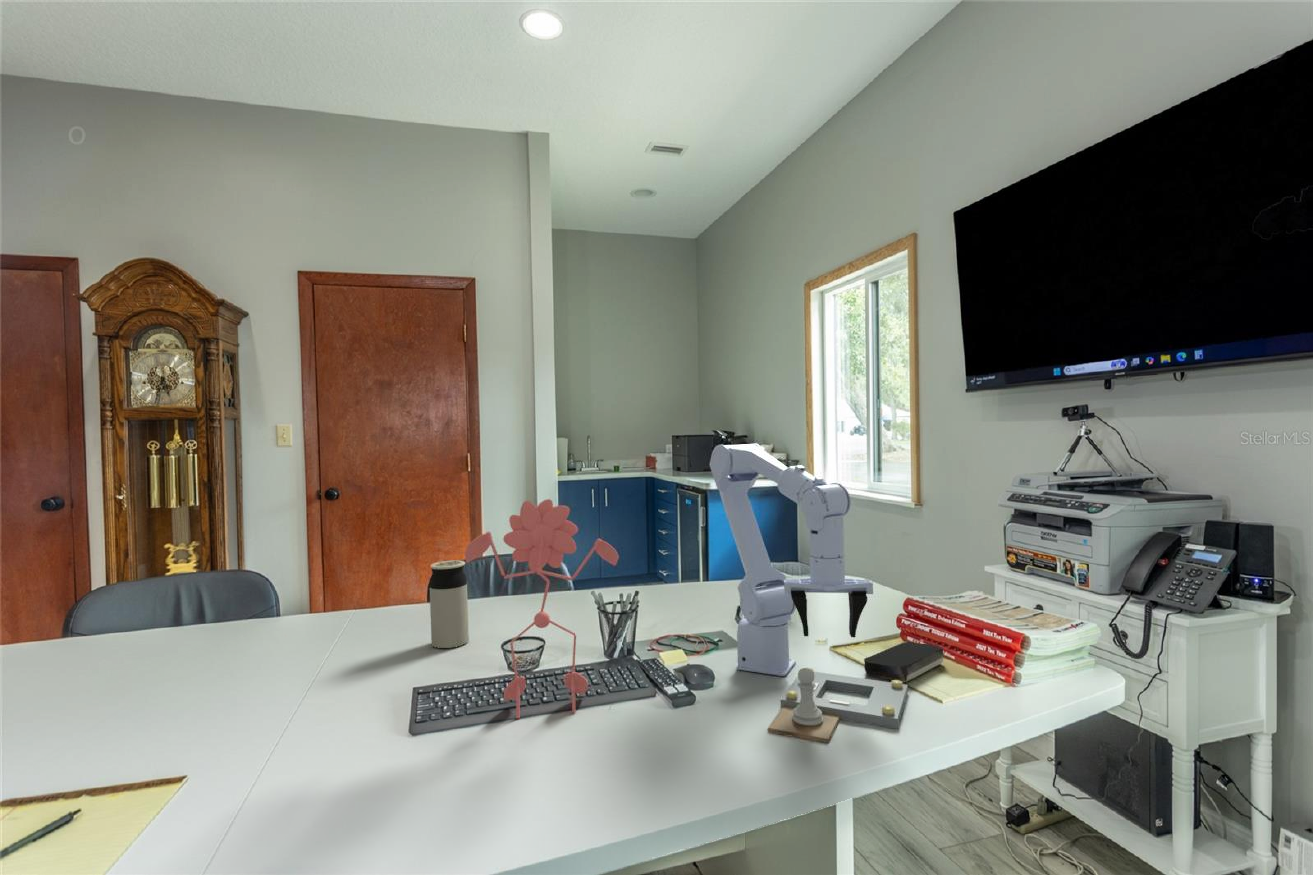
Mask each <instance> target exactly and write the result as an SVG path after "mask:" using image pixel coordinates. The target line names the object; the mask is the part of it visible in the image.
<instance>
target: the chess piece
mask: <svg viewBox="0 0 1313 875" xmlns="http://www.w3.org/2000/svg"><path fill="white" fill-rule="evenodd" d="M809 668H810V667H804V668H803V667H801V669H799V670H798V673H797V676H798V678H799V680H800V682H799V683H798V684H797V686H798V687H799V688H800V692H801V700H800V703H799V705H798V706H797V707H796V708H794V709H793V713H794V714H793V715H792V719H793V720H794V721H795V722H796V723H797V724H799V725H803V726H817V725H819V724H821V723H822V721H823V717H822V716H821V715H822V711H821V710H820V709H818V708H817V706H816V705H815V703H814V701H813V689H814V688H815V687H816V685H815V684H814V683H812V682H813V681H814V678H815V675H814V672H815V671H814V670H813V671H812V670H811V669H809Z"/></svg>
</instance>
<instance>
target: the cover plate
mask: <svg viewBox="0 0 1313 875" xmlns="http://www.w3.org/2000/svg"><path fill="white" fill-rule="evenodd" d="M808 668H809V669H811V670H812V671H813V672H814V675H815V678H814V681H813V682H812V683H814V684H815V685H816V687H815V688H814V689H813V701H814V703H815V705H816V706H817V708H818V709H820V710H821V711H822V712H825V713H831V714H837V715H840V720H844V721H851V722H855V723H861V724H862V723H863V724H867V725H873V726H879V727H886V728H892V729H899V727H900V722H901V719H902V715H903V712H904V709H905V704H906V701H907V698H908V694H909V692H908V690H909V689H908V687H909V686H908V684H905V683H904V682H902V681H899V680H890V682H889V681H885V680H883V681H882V680H875V679H870V678H869V679H868V678H861V677H854V676H847V675H840V674H833V673H826V672H818V671H814V668H811V667H808ZM799 682H800V680H799V678H798V675H797V676H796V678H795V679H794V680H793V682H792V683H791V685H790V686H789V687H788V688H787V690H786V691H785V693H784V694H783V695H782V696H781V698H780V709H781V708H782V707H783V706H790V707H795V708H796V707H797V706H798V705H799V703H800V700H801V692H800V688H799V687H798V686H797V684H798V683H799ZM827 689H829V690H835V691H841V692H848V693H854V694H861V695H867V696H869V698H868V700H867V702H866V705H864V704H858V703H853V702H846V701H840V700H834V699H827V698H823V695H824V693H825V692H826V690H827Z"/></svg>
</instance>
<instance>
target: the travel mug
mask: <svg viewBox="0 0 1313 875" xmlns="http://www.w3.org/2000/svg"><path fill="white" fill-rule="evenodd" d="M465 564H466V561H464V560H444V561H437V562H433V563H432V564H430V566H429V567H430V569H431V573H432V574H431V576H430V578H429V604H430V605H429V608H430V609H429V610H430V633H431V634H430V636H431V638H430V639H431V647H433V646H434V648H436V647H437V648H436V649H439V648H450V649H452V648H451V647H456V646H459V647H462V646H464V645H465V644H466V643H468V642H469V641H470V637H469V636H470V635H469V633H470V630H469V606H468V605H469V602H468V576H467V574H466V573H465V572H464V568H465ZM463 644H464V645H463ZM461 645H462V646H461ZM456 648H457V647H456Z"/></svg>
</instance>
